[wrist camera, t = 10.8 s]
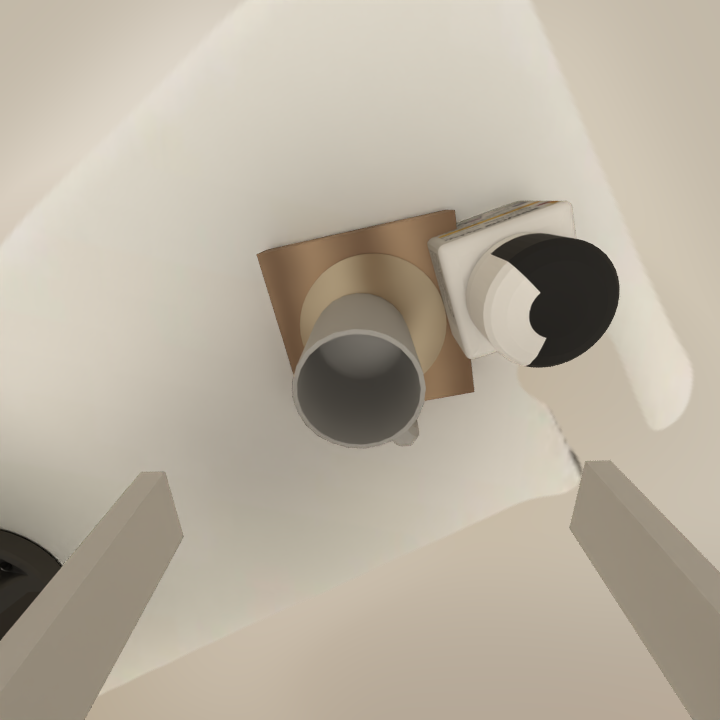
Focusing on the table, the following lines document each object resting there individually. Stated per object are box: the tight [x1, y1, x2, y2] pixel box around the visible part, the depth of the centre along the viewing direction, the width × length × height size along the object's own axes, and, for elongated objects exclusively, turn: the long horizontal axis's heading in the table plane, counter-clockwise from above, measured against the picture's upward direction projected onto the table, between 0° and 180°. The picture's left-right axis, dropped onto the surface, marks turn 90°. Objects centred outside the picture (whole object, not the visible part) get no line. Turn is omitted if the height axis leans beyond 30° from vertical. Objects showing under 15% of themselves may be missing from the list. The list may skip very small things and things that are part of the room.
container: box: [427, 201, 619, 367], centre depth 24 cm, size 8×8×13 cm
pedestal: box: [257, 210, 474, 401], centre depth 30 cm, size 14×14×3 cm
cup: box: [292, 293, 426, 448], centre depth 25 cm, size 7×10×9 cm
